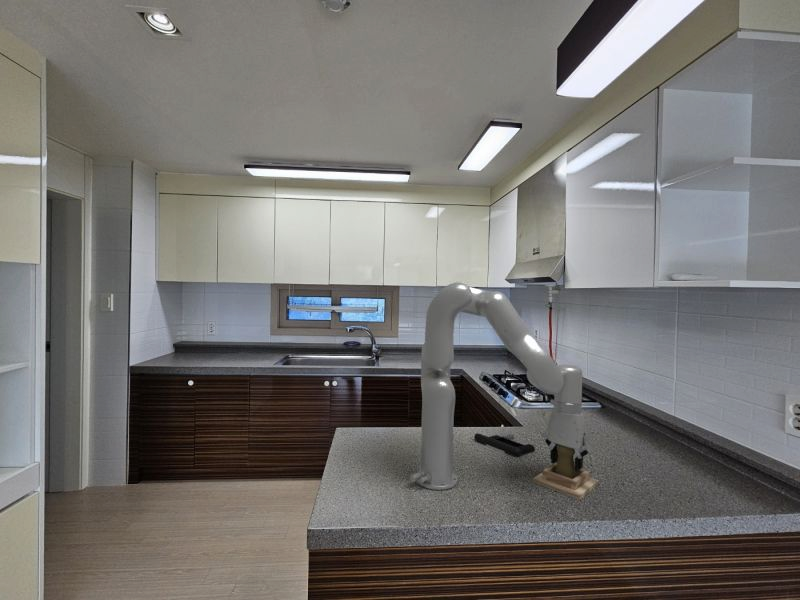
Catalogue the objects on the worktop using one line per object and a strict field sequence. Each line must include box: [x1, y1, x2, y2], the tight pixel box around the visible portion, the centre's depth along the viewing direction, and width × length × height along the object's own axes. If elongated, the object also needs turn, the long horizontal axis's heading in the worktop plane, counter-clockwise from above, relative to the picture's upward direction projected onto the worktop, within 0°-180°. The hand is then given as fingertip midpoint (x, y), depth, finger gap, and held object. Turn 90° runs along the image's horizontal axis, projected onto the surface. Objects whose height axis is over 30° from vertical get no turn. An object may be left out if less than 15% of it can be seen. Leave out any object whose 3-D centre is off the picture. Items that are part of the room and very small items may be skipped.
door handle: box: [474, 432, 536, 458], centre depth 152 cm, size 3×20×16 cm
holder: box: [532, 462, 600, 501], centre depth 122 cm, size 14×14×4 cm
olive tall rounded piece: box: [555, 444, 576, 479], centre depth 121 cm, size 6×6×11 cm
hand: (566, 465), depth 122 cm, fingers open, 6 cm apart
